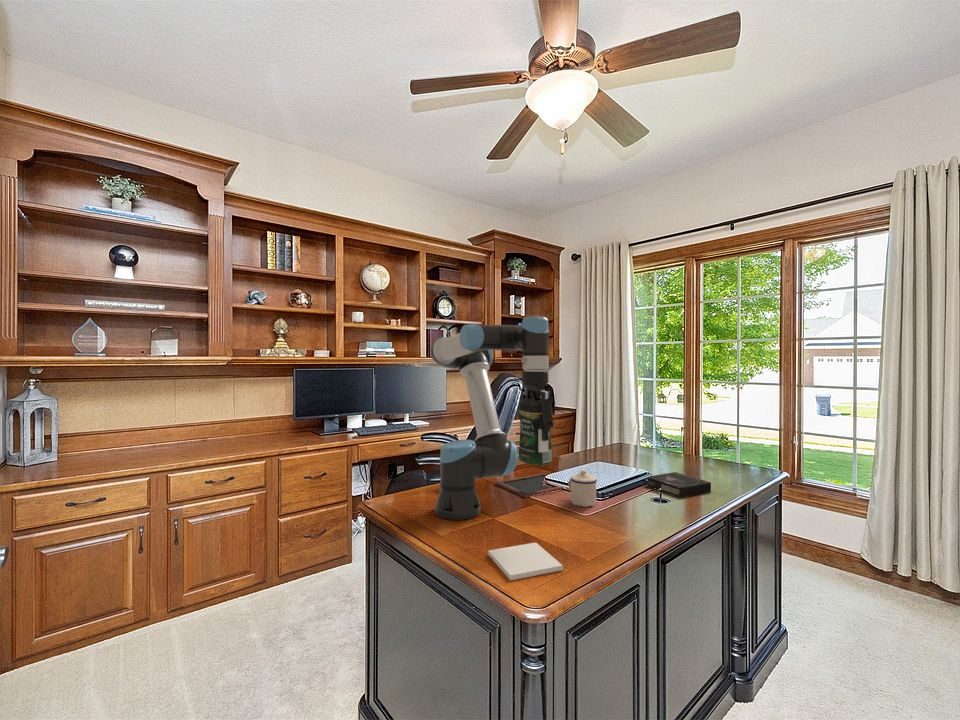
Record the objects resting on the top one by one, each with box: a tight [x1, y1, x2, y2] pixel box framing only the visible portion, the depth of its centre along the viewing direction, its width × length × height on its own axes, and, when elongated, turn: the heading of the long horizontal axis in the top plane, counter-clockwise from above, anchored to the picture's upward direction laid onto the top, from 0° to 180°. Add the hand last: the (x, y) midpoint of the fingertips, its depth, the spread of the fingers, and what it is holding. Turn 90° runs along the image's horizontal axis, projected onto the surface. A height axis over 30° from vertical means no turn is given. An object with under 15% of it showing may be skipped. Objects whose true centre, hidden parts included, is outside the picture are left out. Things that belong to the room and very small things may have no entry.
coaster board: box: [487, 542, 564, 581], centre depth 112 cm, size 14×14×1 cm
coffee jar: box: [518, 398, 553, 466], centre depth 128 cm, size 10×8×19 cm
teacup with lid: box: [568, 469, 598, 508], centre depth 158 cm, size 12×9×12 cm
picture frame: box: [495, 472, 563, 499], centre depth 177 cm, size 20×2×25 cm
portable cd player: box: [645, 471, 712, 499], centre depth 173 cm, size 16×17×4 cm
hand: (535, 448), depth 128 cm, fingers closed on coffee jar, 9 cm apart
